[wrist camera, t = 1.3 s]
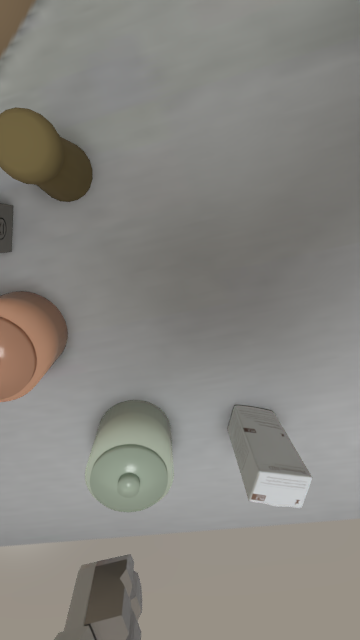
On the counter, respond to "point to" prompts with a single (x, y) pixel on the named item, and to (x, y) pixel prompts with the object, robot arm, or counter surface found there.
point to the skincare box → (267, 458)
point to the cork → (42, 155)
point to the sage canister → (131, 457)
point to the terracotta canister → (28, 341)
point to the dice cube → (6, 228)
